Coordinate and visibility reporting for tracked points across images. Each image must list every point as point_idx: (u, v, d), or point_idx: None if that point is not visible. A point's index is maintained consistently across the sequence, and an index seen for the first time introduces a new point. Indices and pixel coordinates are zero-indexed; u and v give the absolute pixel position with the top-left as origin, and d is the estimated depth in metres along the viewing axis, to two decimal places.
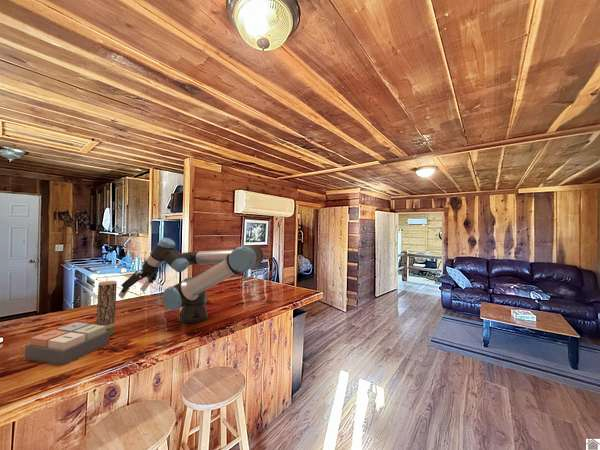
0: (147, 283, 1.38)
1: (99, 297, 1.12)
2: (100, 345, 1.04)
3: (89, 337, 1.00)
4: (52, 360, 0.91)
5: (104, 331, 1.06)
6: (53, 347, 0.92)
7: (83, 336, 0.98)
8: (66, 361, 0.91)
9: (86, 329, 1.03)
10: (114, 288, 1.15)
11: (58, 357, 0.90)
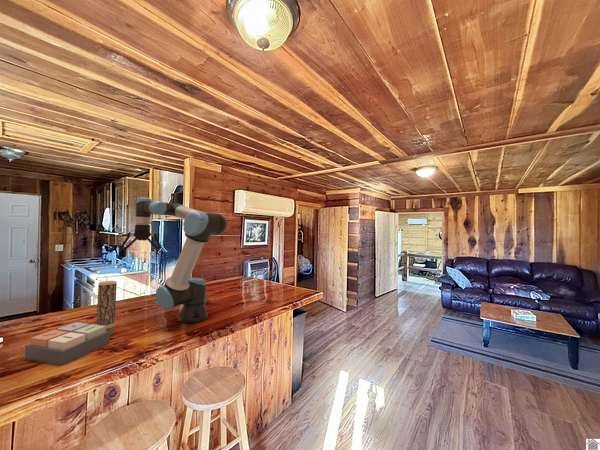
0: (154, 251, 1.44)
1: (99, 297, 1.12)
2: (100, 345, 1.04)
3: (89, 337, 1.00)
4: (52, 360, 0.91)
5: (104, 331, 1.06)
6: (53, 347, 0.92)
7: (83, 336, 0.98)
8: (66, 361, 0.91)
9: (86, 329, 1.03)
10: (114, 288, 1.15)
11: (58, 357, 0.90)
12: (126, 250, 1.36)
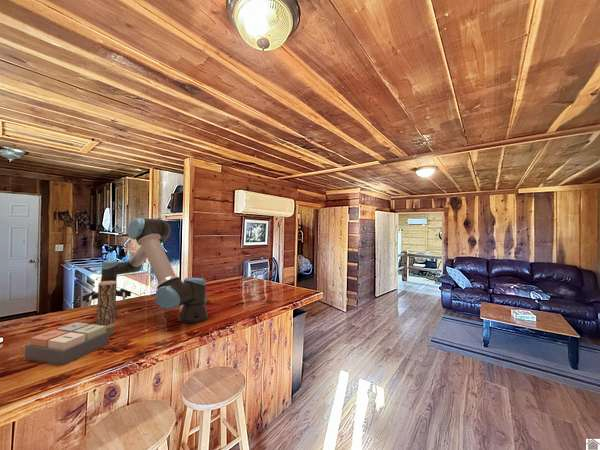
0: (122, 294, 1.32)
1: (99, 297, 1.12)
2: (100, 345, 1.04)
3: (89, 337, 1.00)
4: (52, 360, 0.91)
5: (104, 331, 1.06)
6: (53, 347, 0.92)
7: (83, 336, 0.98)
8: (66, 361, 0.91)
9: (86, 329, 1.03)
10: (114, 288, 1.15)
11: (58, 357, 0.90)
12: (90, 296, 1.24)
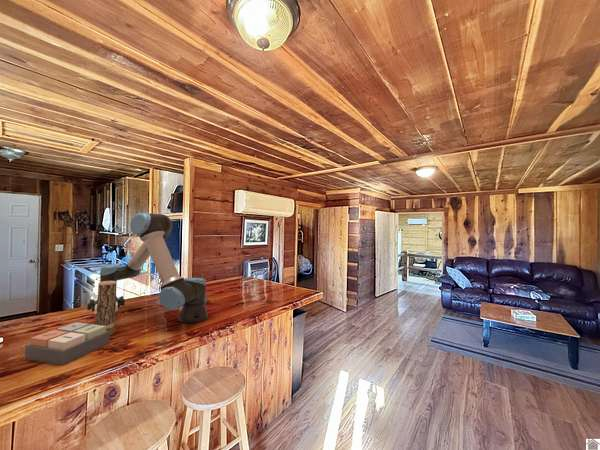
0: None
1: (99, 297, 1.12)
2: (100, 345, 1.04)
3: (89, 337, 1.00)
4: (52, 360, 0.91)
5: (104, 331, 1.06)
6: (53, 347, 0.92)
7: (83, 336, 0.98)
8: (66, 361, 0.91)
9: (86, 329, 1.03)
10: (114, 288, 1.15)
11: (58, 357, 0.90)
12: (95, 304, 1.14)
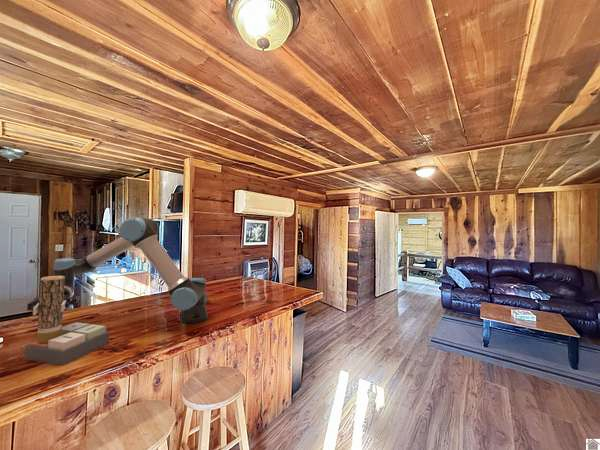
0: None
1: (41, 295, 0.94)
2: (100, 345, 1.04)
3: (89, 337, 1.00)
4: (52, 360, 0.91)
5: (104, 331, 1.06)
6: (53, 347, 0.92)
7: (83, 336, 0.98)
8: (66, 361, 0.91)
9: (86, 329, 1.03)
10: (60, 284, 0.97)
11: (58, 357, 0.90)
12: (37, 303, 0.96)
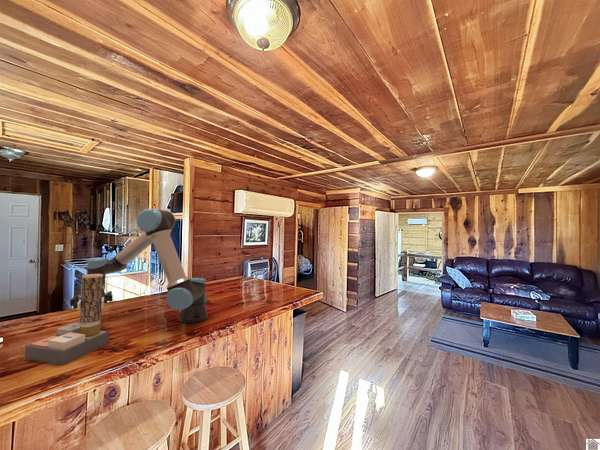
0: None
1: (83, 291, 1.01)
2: (100, 345, 1.04)
3: None
4: (52, 360, 0.91)
5: None
6: (53, 347, 0.92)
7: (83, 336, 0.98)
8: (66, 361, 0.91)
9: None
10: (100, 282, 1.04)
11: (58, 357, 0.90)
12: (79, 299, 1.03)
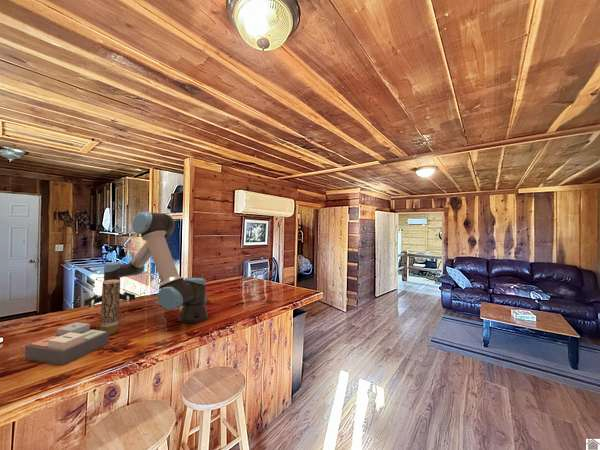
0: (126, 298, 1.24)
1: (103, 295, 1.15)
2: (100, 345, 1.04)
3: None
4: (52, 360, 0.91)
5: None
6: (53, 347, 0.92)
7: (83, 336, 0.98)
8: (66, 361, 0.91)
9: (86, 335, 1.03)
10: (118, 287, 1.18)
11: (58, 357, 0.90)
12: (92, 299, 1.16)
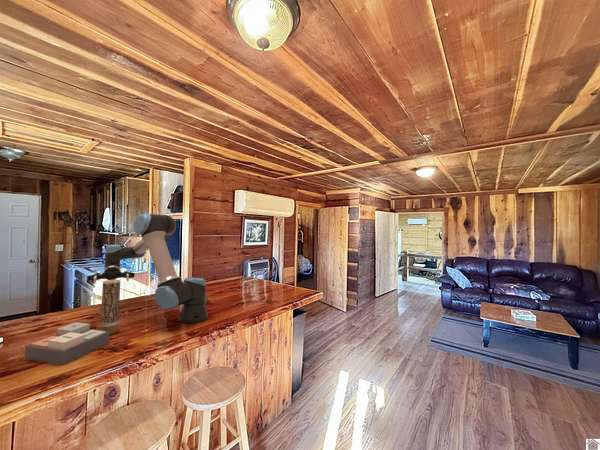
0: (126, 275, 1.34)
1: (103, 295, 1.15)
2: (100, 345, 1.04)
3: None
4: (52, 360, 0.91)
5: None
6: (53, 347, 0.92)
7: (83, 336, 0.98)
8: (66, 361, 0.91)
9: (86, 335, 1.03)
10: (118, 287, 1.18)
11: (58, 357, 0.90)
12: (94, 275, 1.26)
